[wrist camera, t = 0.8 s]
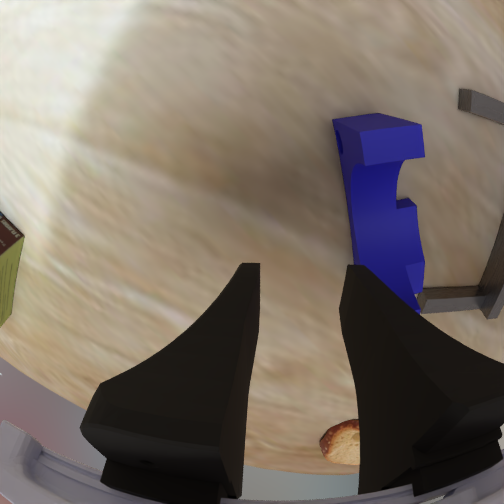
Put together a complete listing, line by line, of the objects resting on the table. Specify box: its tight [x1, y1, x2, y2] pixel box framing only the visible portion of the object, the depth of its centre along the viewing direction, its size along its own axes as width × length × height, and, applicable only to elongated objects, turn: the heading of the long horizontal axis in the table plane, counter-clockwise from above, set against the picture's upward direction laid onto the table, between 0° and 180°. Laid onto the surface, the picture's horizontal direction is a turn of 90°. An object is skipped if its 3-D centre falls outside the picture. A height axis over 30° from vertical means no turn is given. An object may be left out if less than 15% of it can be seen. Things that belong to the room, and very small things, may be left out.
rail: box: [417, 89, 504, 319], centre depth 16 cm, size 8×18×3 cm, turn 1°
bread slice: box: [320, 419, 360, 465], centre depth 36 cm, size 18×18×4 cm
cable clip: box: [332, 113, 425, 315], centre depth 16 cm, size 12×4×6 cm, turn 15°
